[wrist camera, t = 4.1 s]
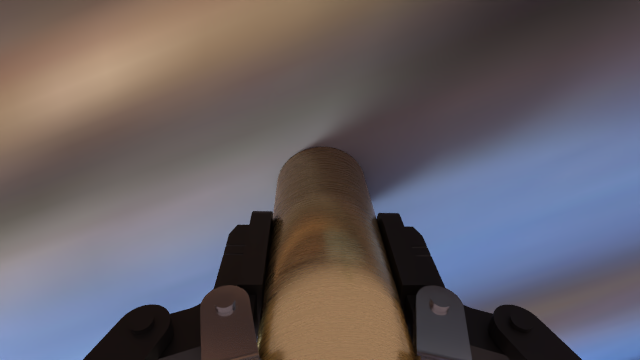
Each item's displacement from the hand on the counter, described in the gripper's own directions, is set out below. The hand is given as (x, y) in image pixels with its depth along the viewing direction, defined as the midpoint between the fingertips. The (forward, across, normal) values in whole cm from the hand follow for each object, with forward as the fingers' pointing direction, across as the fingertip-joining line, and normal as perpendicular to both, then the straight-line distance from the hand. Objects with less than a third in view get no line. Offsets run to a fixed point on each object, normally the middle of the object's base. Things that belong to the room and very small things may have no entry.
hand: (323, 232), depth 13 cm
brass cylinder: (+3, 0, 0) cm, 3 cm away
